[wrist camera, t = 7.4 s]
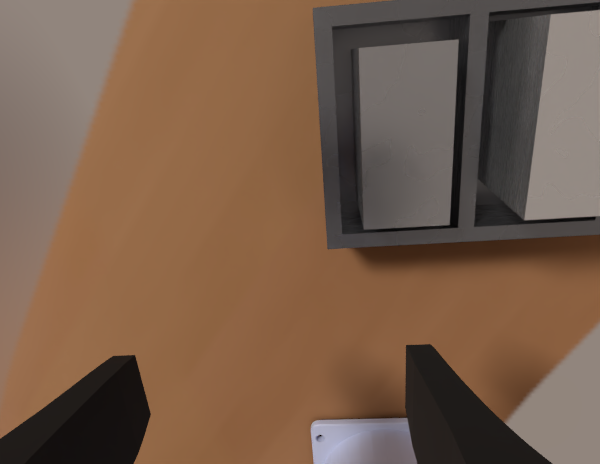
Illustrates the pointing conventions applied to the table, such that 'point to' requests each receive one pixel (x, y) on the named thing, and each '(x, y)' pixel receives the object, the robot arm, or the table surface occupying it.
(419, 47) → the rack
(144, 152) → the table surface
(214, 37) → the table surface
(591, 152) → the grey block
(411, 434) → the robot arm
